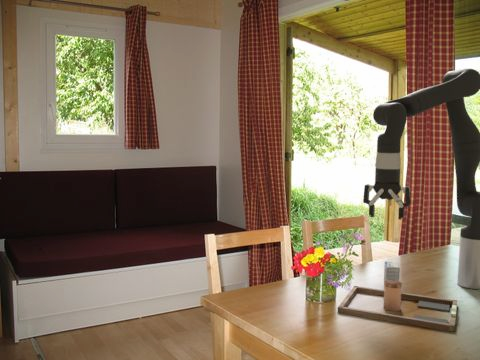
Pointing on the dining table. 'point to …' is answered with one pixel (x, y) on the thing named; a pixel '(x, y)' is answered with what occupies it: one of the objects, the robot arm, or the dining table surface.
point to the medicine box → (391, 271)
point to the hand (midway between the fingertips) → (386, 218)
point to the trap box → (396, 318)
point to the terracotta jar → (392, 295)
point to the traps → (433, 306)
